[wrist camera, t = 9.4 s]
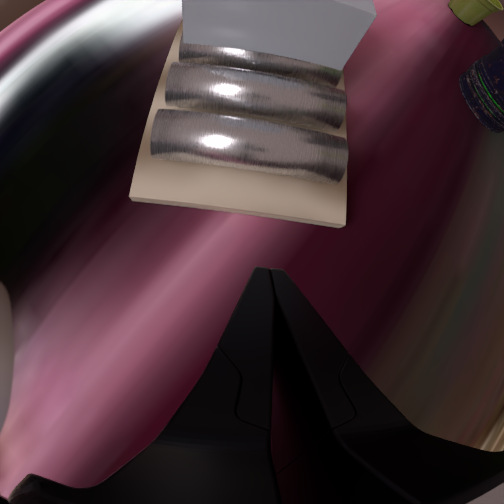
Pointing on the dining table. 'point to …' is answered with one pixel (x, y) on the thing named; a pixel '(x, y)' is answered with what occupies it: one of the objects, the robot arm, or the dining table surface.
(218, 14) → the slab
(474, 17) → the plant pot
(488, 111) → the storage jar
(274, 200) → the track board
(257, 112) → the rollers
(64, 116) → the dining table surface
